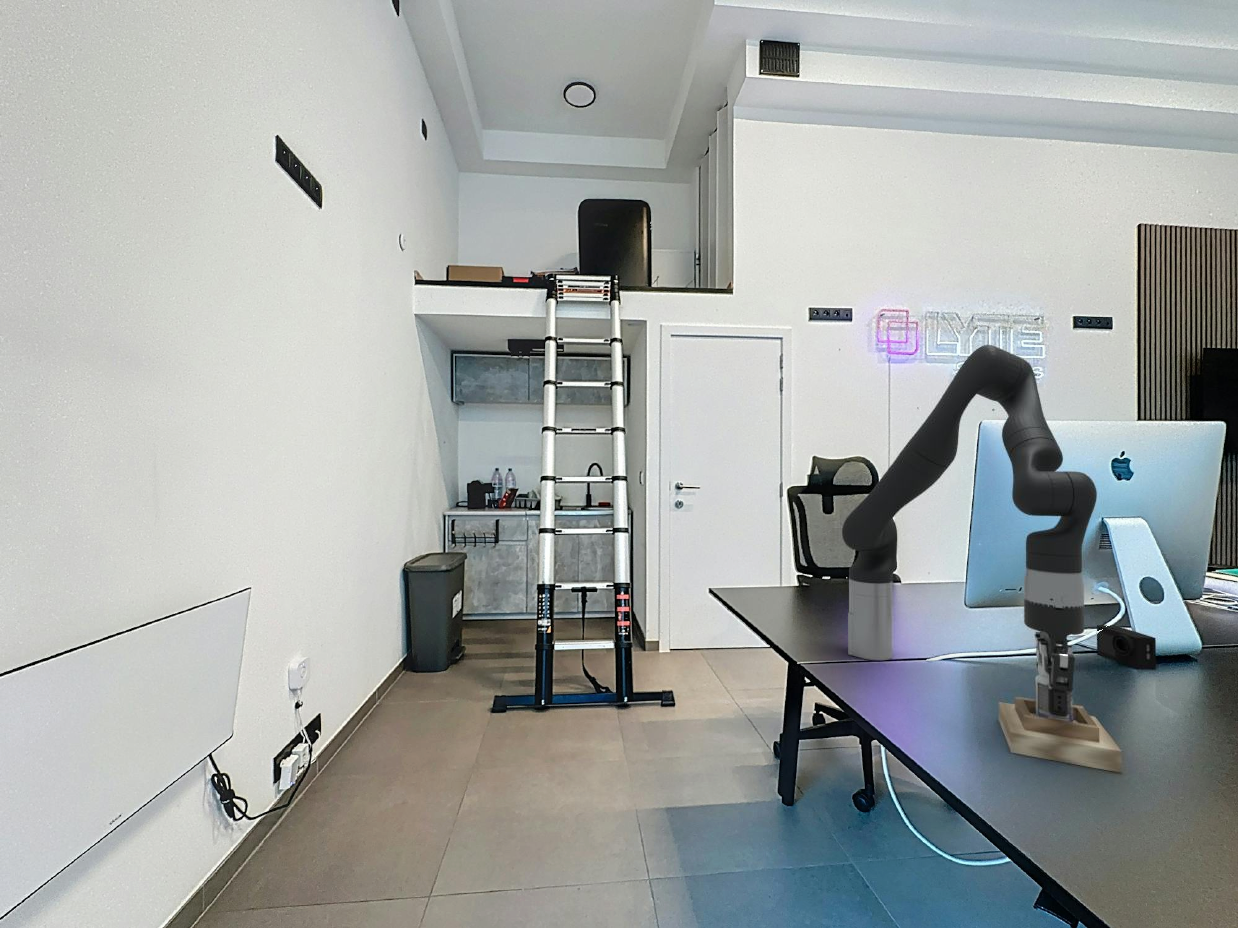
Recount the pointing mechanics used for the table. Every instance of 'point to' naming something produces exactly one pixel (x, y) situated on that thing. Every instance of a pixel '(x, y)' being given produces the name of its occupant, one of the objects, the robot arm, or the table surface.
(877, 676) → the table surface
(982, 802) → the table surface
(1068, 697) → the pill bottle
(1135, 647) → the digital camera
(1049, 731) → the wooden base
